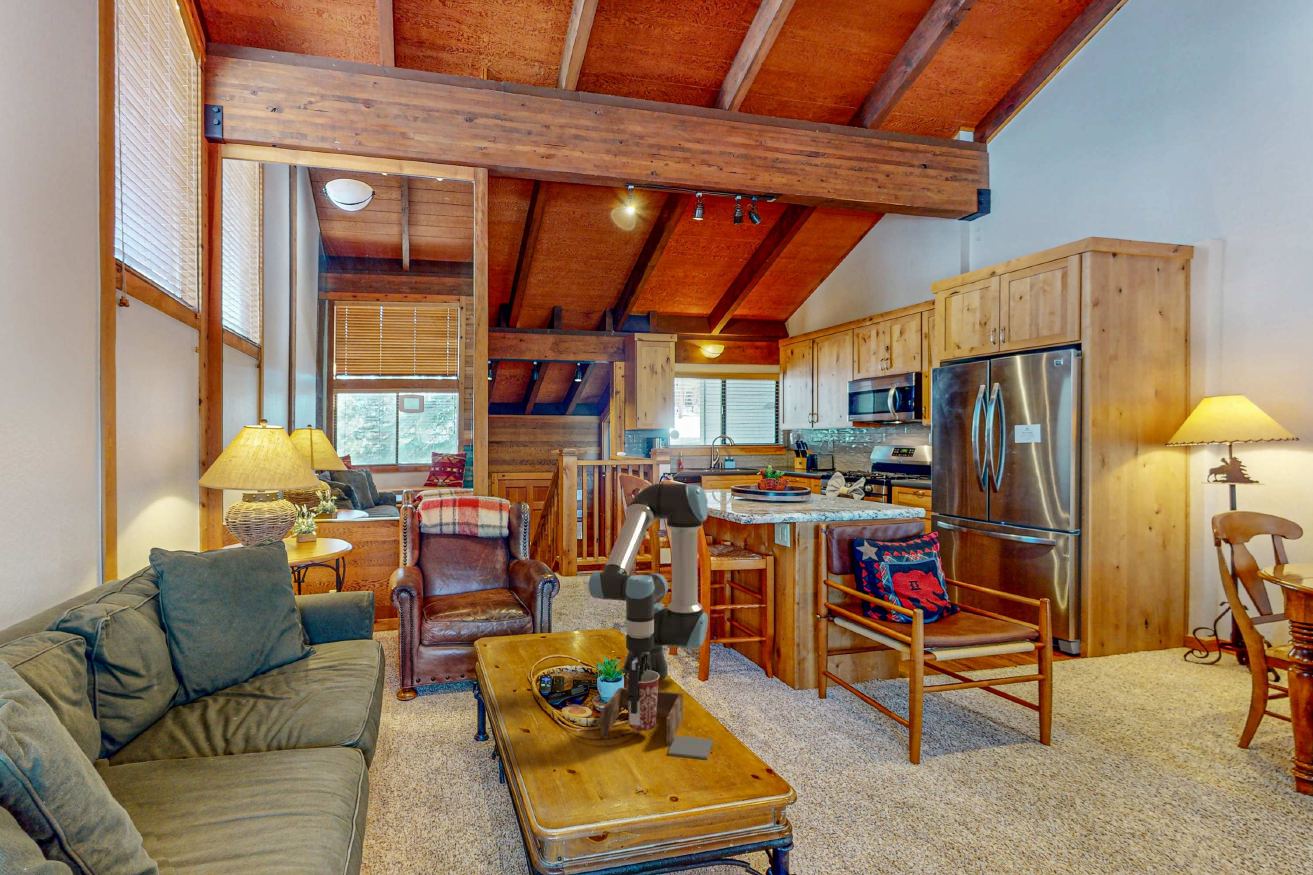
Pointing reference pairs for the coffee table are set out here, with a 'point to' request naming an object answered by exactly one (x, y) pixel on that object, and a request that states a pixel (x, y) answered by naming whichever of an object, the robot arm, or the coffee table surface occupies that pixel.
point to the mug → (646, 700)
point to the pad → (690, 747)
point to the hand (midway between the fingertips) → (639, 715)
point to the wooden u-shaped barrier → (666, 707)
